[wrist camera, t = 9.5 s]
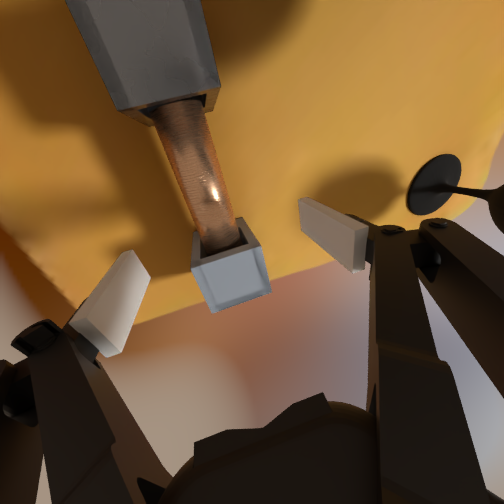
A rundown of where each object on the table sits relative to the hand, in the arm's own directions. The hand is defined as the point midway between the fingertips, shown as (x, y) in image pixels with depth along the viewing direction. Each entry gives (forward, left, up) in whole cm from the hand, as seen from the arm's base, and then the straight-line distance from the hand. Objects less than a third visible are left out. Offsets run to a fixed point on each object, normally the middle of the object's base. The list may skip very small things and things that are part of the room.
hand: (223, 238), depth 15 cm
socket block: (+7, 0, -13) cm, 15 cm away
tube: (-2, 0, -9) cm, 9 cm away
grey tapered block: (-14, 0, -13) cm, 19 cm away
